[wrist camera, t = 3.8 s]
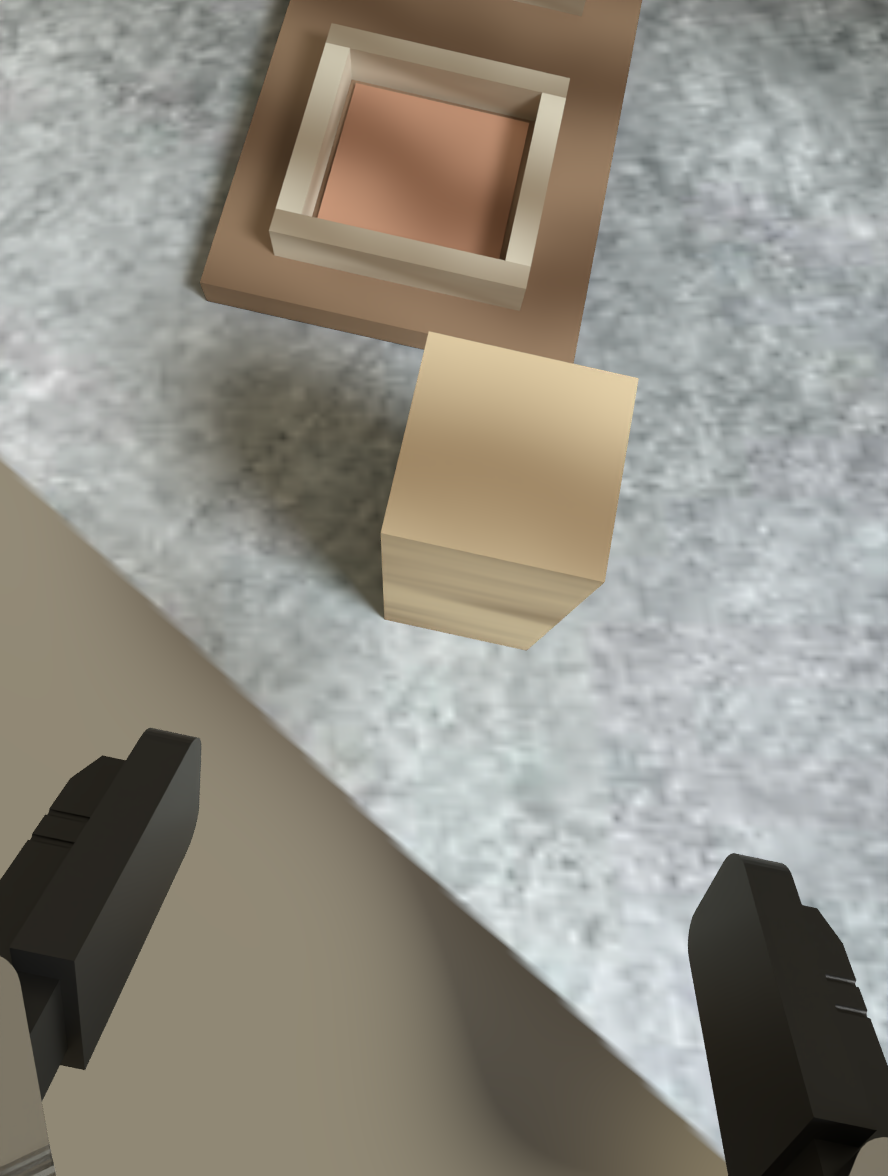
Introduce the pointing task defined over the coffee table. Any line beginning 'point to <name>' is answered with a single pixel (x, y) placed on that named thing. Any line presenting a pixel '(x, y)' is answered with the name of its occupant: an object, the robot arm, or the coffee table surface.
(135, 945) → the robot arm
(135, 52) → the coffee table surface
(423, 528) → the maple block
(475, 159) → the baseboard
